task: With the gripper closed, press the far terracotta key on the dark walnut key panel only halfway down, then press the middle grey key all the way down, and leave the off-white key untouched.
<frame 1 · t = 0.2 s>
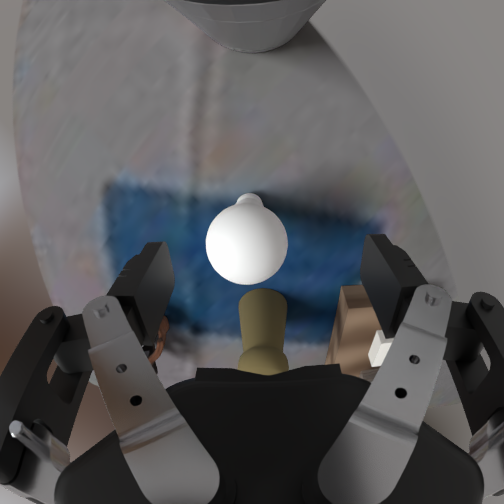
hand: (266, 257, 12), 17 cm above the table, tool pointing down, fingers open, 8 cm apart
lightbulb: (249, 200, 29), on the table
key panel: (363, 345, 41), on the table
pottery mug: (142, 324, 40), on the table
off-white key: (391, 347, 31), point 7 cm above the table, slide at 0.0 cm
olive rounded waisted cylinder: (262, 305, 37), on the table
grey key: (374, 383, 35), point 7 cm above the table, slide at 0.0 cm
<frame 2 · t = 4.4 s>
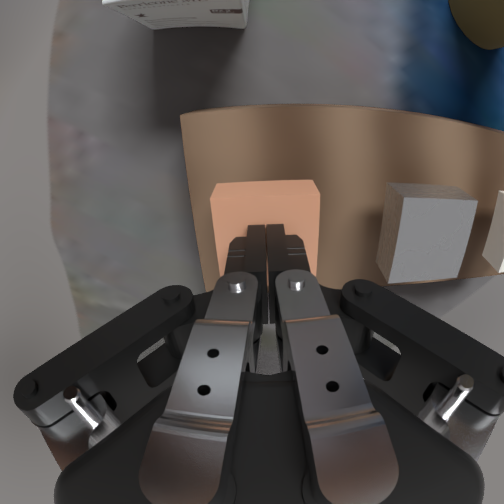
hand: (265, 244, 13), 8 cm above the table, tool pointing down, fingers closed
key panel: (379, 186, 19), on the table
terracotta key: (266, 233, 14), point 7 cm above the table, slide at 0.3 cm, touching gripper
olive rounded waisted cylinder: (476, 15, 11), on the table
grey key: (426, 232, 13), point 7 cm above the table, slide at 0.0 cm
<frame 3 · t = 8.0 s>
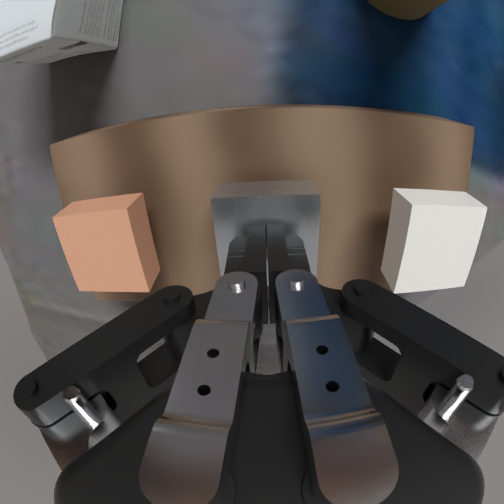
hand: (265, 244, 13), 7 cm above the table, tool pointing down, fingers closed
key panel: (265, 191, 19), on the table
skincare box: (87, 17, 12), on the table
off-white key: (433, 240, 12), point 7 cm above the table, slide at 0.0 cm
terracotta key: (107, 244, 14), point 6 cm above the table, slide at 0.8 cm
grey key: (267, 233, 14), point 6 cm above the table, slide at 1.1 cm, touching gripper
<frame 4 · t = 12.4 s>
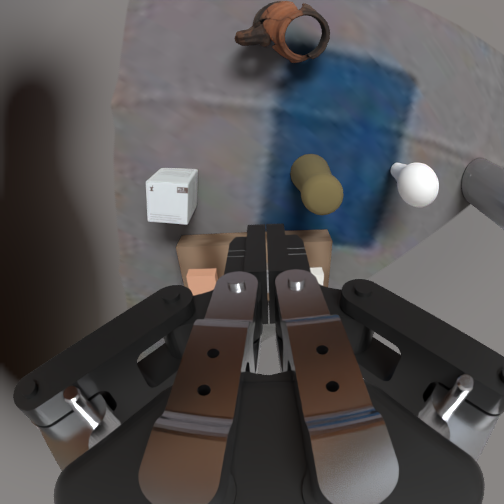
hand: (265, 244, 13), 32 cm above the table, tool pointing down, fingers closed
lightbulb: (394, 168, 42), on the table
key panel: (255, 260, 51), on the table
pottery mug: (279, 34, 33), on the table
skincare box: (179, 185, 45), on the table
off-white key: (307, 283, 45), point 7 cm above the table, slide at 0.0 cm
terracotta key: (203, 284, 46), point 6 cm above the table, slide at 0.8 cm
olive rounded waisted cylinder: (310, 173, 43), on the table
grey key: (255, 278, 47), point 5 cm above the table, slide at 1.9 cm
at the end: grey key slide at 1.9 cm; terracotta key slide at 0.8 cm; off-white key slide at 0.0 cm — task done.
